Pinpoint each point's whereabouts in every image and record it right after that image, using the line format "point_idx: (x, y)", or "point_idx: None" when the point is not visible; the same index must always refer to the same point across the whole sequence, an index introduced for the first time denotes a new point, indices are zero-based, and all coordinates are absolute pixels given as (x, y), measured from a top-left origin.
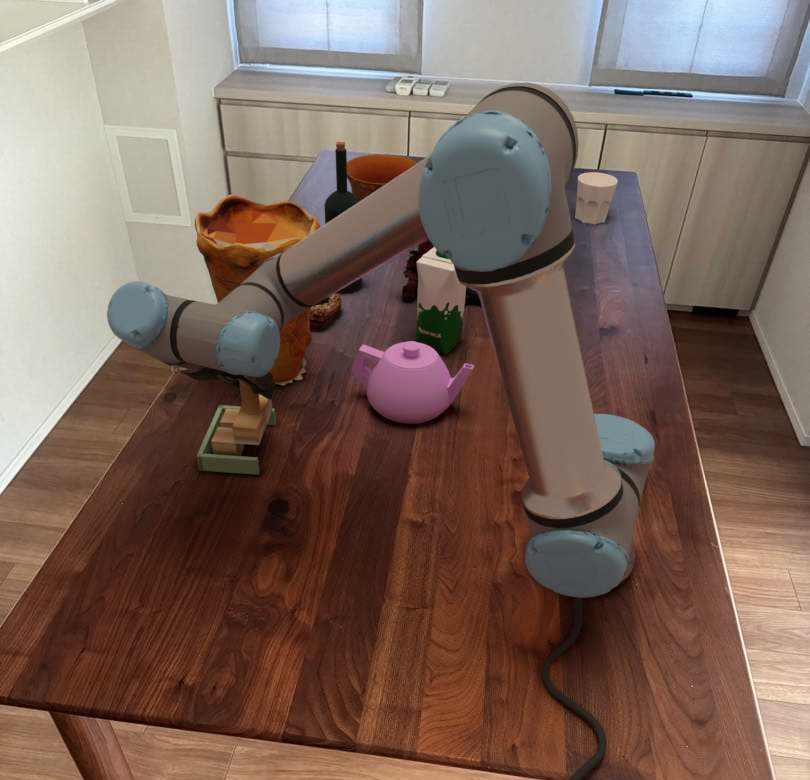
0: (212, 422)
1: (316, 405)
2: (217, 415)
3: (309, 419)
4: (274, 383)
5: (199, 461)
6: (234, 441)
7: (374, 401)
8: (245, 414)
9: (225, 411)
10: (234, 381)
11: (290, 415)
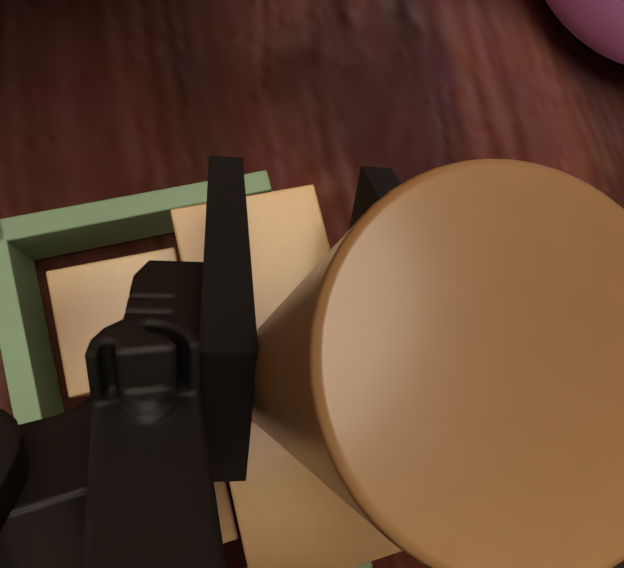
0: (12, 378)
1: (354, 45)
2: (11, 311)
3: (370, 136)
4: (396, 179)
5: None
6: (229, 530)
7: (620, 19)
8: (272, 439)
9: (53, 298)
10: (227, 455)
11: (289, 132)
